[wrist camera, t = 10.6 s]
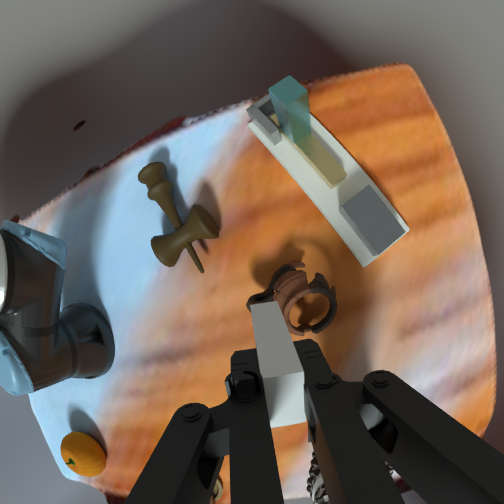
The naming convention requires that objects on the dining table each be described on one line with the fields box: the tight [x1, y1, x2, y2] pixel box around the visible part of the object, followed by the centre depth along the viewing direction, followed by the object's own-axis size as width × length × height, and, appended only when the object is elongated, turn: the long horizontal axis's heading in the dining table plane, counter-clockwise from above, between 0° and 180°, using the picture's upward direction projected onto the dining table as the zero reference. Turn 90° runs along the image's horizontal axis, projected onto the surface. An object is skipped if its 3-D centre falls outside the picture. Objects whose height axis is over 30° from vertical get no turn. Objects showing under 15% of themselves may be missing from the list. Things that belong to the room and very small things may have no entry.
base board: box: [247, 112, 410, 268], centre depth 42 cm, size 28×9×1 cm, turn 37°
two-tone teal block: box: [268, 75, 347, 189], centre depth 35 cm, size 14×3×13 cm, turn 37°
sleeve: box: [339, 185, 406, 256], centre depth 38 cm, size 8×5×4 cm, turn 37°
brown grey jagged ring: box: [246, 262, 337, 336], centre depth 40 cm, size 12×10×8 cm
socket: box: [246, 93, 282, 146], centre depth 41 cm, size 6×7×4 cm
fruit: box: [61, 432, 106, 477], centre depth 45 cm, size 12×12×10 cm
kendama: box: [138, 162, 219, 273], centre depth 45 cm, size 6×10×20 cm
